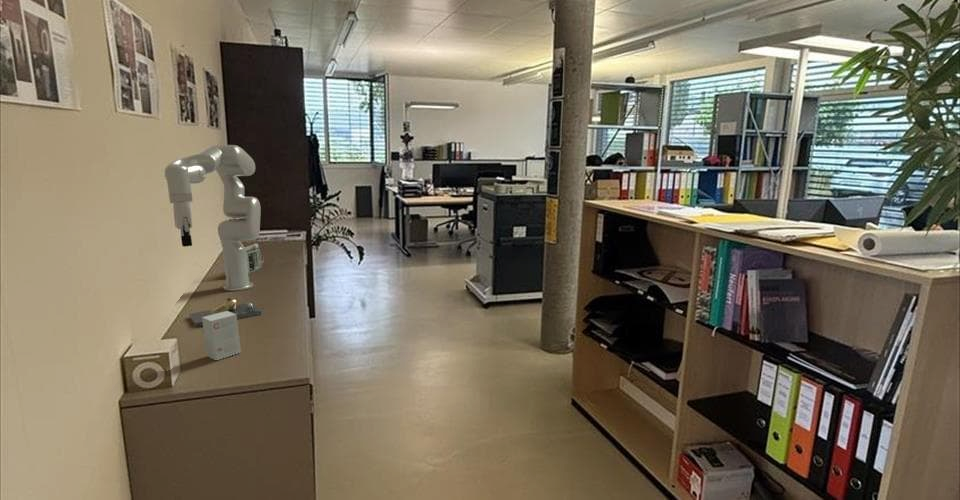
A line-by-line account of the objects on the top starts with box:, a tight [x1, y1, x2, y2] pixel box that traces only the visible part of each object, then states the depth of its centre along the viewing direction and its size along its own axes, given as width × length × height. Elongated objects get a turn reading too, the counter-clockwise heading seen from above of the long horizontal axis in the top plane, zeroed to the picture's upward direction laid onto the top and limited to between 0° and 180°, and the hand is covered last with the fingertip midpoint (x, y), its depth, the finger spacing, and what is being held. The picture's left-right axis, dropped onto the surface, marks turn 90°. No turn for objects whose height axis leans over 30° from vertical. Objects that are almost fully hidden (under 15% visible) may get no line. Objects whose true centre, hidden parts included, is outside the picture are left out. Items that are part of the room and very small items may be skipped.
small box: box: [202, 311, 242, 361], centre depth 165 cm, size 8×6×13 cm
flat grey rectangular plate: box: [188, 301, 262, 328], centre depth 204 cm, size 14×23×4 cm, turn 126°
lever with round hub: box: [210, 297, 238, 315], centre depth 201 cm, size 4×15×4 cm, turn 178°
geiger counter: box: [244, 243, 265, 274], centre depth 275 cm, size 14×6×25 cm
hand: (187, 245), depth 204 cm, fingers closed
